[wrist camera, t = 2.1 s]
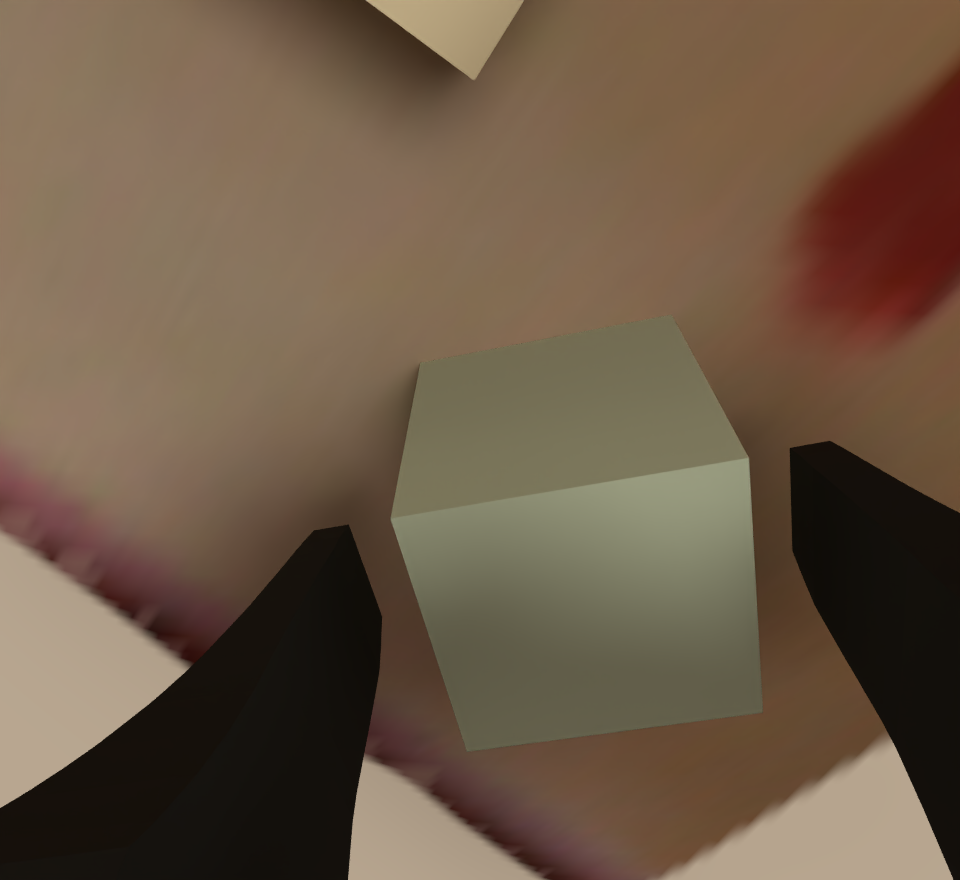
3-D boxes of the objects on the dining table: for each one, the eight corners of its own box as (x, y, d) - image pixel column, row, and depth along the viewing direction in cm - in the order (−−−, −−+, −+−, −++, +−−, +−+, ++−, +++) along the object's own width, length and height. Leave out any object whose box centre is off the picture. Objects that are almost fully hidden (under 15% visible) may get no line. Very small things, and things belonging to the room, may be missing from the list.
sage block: (671, 313, 14) (748, 457, 10) (692, 520, 16) (763, 713, 12) (420, 361, 15) (391, 518, 10) (473, 555, 17) (467, 751, 13)
